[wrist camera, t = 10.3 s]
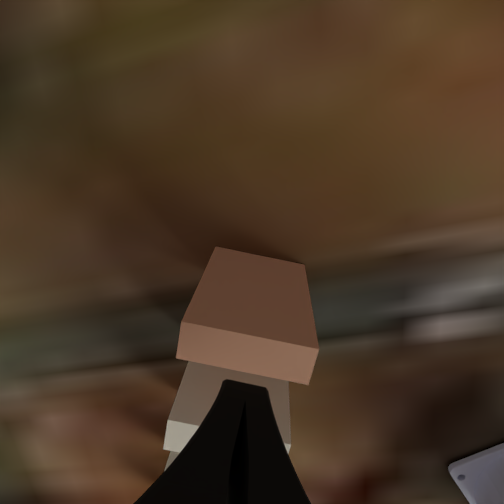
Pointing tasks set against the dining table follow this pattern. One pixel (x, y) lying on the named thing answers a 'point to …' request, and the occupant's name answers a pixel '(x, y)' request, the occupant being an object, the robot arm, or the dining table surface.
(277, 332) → the terracotta domino
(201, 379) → the ivory domino
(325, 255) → the dining table surface
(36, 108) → the dining table surface
